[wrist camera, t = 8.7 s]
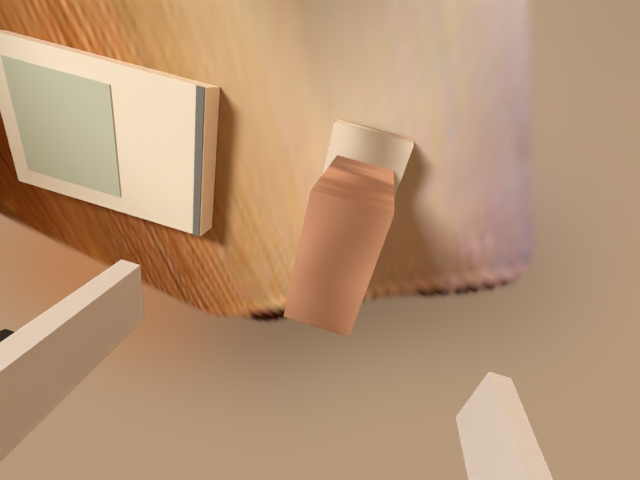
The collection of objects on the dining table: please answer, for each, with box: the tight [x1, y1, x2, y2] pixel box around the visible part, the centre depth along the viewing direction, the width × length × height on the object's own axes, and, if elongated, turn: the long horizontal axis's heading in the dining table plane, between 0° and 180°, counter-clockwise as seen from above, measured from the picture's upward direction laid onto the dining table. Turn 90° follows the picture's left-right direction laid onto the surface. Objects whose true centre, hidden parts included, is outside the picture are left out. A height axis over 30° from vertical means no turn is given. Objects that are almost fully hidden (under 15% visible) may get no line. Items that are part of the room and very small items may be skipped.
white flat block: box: [0, 30, 220, 236], centre depth 26 cm, size 18×12×2 cm, turn 77°
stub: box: [284, 119, 414, 337], centre depth 21 cm, size 5×12×10 cm, turn 167°
